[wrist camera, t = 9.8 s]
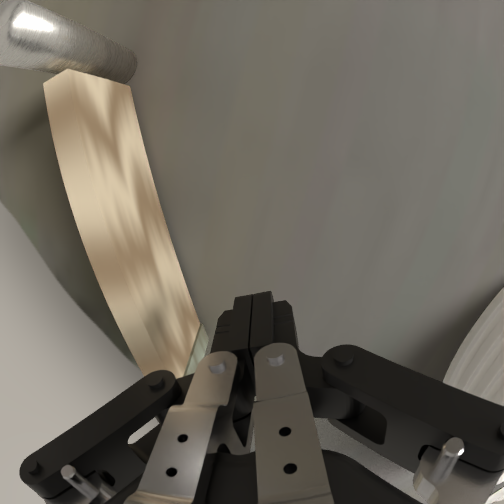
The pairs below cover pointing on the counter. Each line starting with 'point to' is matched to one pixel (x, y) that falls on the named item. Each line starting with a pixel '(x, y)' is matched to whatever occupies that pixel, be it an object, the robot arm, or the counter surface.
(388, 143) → the counter surface
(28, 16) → the hinge post
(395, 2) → the counter surface
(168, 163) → the counter surface
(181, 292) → the gate
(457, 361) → the plate stack
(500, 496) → the tray
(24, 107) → the counter surface
